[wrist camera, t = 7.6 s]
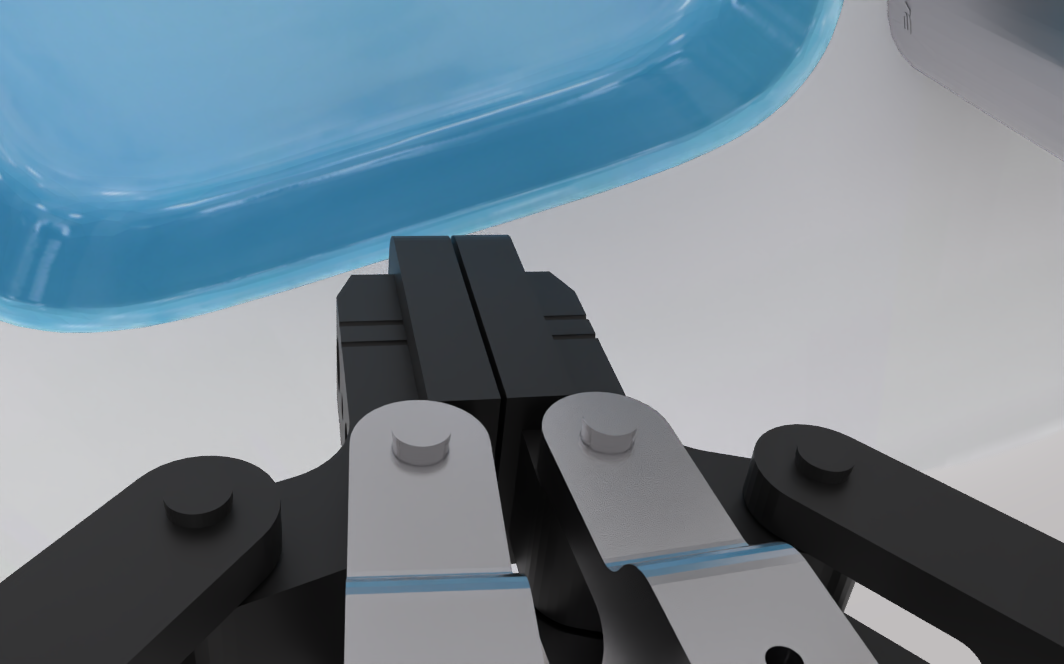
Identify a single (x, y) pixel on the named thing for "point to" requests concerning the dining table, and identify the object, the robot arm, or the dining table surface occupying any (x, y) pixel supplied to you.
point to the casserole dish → (341, 131)
